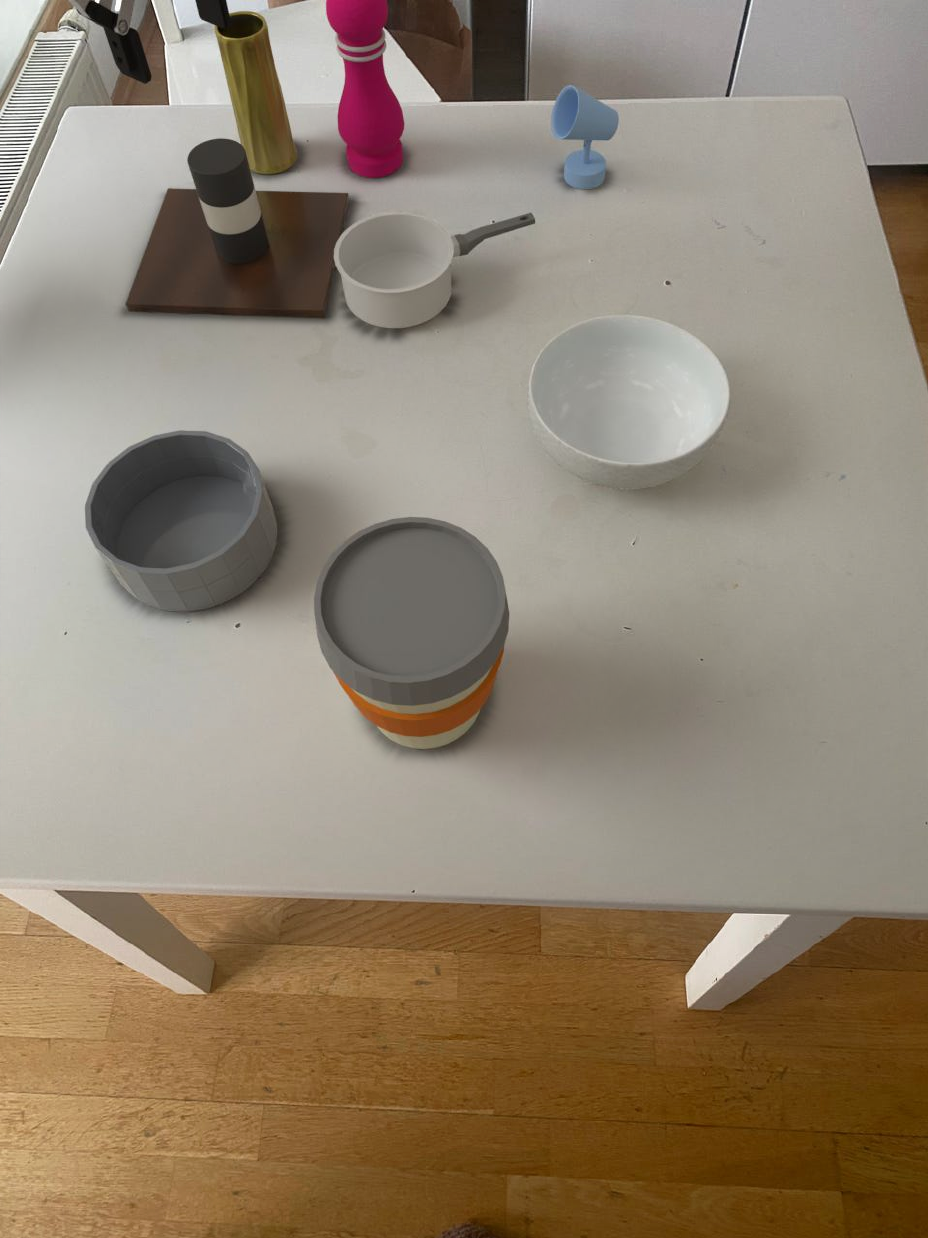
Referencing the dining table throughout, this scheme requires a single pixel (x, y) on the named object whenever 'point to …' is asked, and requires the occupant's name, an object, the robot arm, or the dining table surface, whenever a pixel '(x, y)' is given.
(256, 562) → the grey pet bowl
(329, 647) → the reusable coffee cup
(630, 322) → the cereal bowl
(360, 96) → the pepper mill
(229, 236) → the dark grey banded canister
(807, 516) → the dining table surface
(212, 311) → the board
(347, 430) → the dining table surface
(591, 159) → the spotlight
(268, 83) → the vase
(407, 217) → the saucepan
